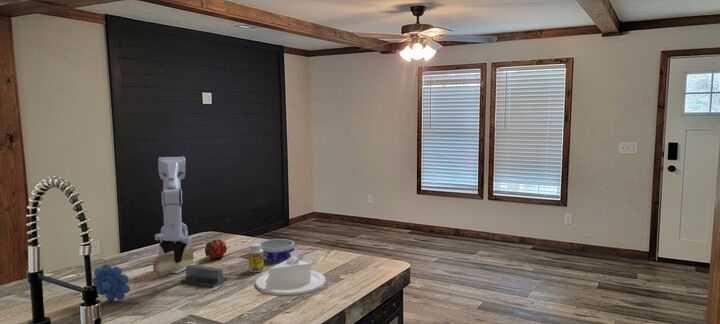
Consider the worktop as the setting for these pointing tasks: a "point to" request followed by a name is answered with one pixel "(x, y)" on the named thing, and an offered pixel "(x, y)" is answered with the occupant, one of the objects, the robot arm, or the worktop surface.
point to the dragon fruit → (215, 249)
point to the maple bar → (171, 262)
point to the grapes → (111, 282)
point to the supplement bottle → (255, 258)
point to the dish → (291, 277)
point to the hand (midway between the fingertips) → (174, 261)
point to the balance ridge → (203, 276)
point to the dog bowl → (277, 250)
